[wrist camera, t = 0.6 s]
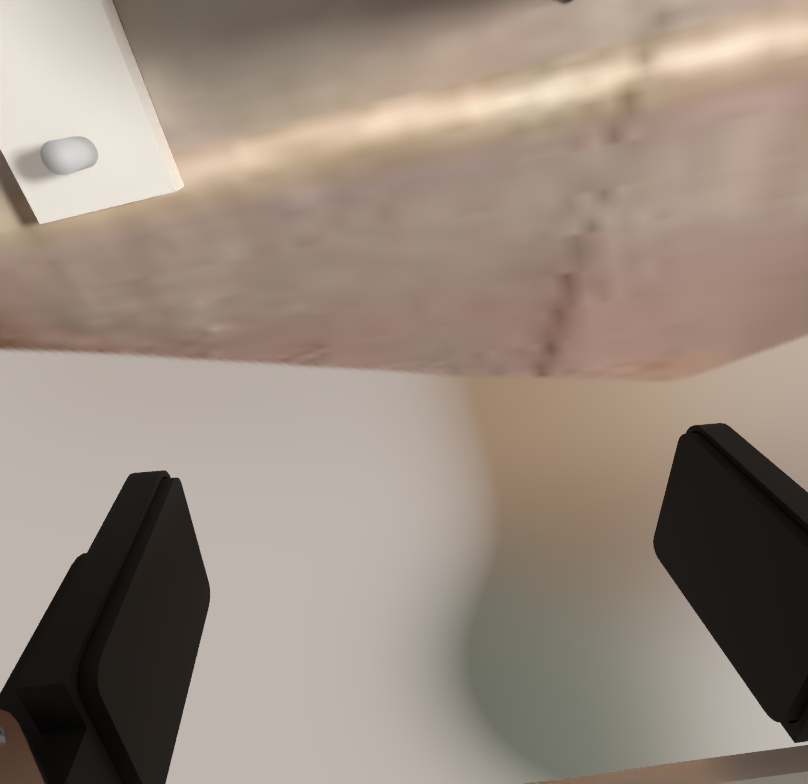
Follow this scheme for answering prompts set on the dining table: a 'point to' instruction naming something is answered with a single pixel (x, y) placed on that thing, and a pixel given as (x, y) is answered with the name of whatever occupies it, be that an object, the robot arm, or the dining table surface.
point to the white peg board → (77, 110)
